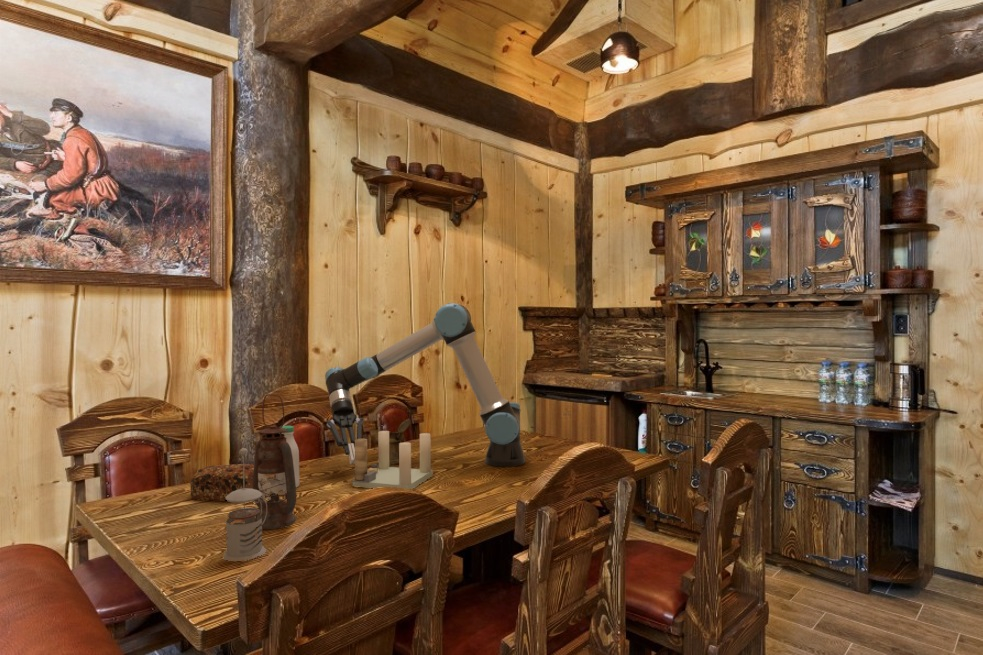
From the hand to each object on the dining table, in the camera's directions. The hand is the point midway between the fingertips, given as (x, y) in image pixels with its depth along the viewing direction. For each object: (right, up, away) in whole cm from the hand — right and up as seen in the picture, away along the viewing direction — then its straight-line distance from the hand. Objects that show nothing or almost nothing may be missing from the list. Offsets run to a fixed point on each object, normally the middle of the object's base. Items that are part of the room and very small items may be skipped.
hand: (353, 461), depth 197 cm
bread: (-37, -8, -13) cm, 40 cm away
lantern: (-13, -8, -37) cm, 40 cm away
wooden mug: (+9, -7, +29) cm, 31 cm away
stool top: (+13, -7, +4) cm, 15 cm away
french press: (-12, -9, -57) cm, 59 cm away
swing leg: (+4, -5, +2) cm, 7 cm away
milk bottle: (-21, -8, -3) cm, 23 cm away
